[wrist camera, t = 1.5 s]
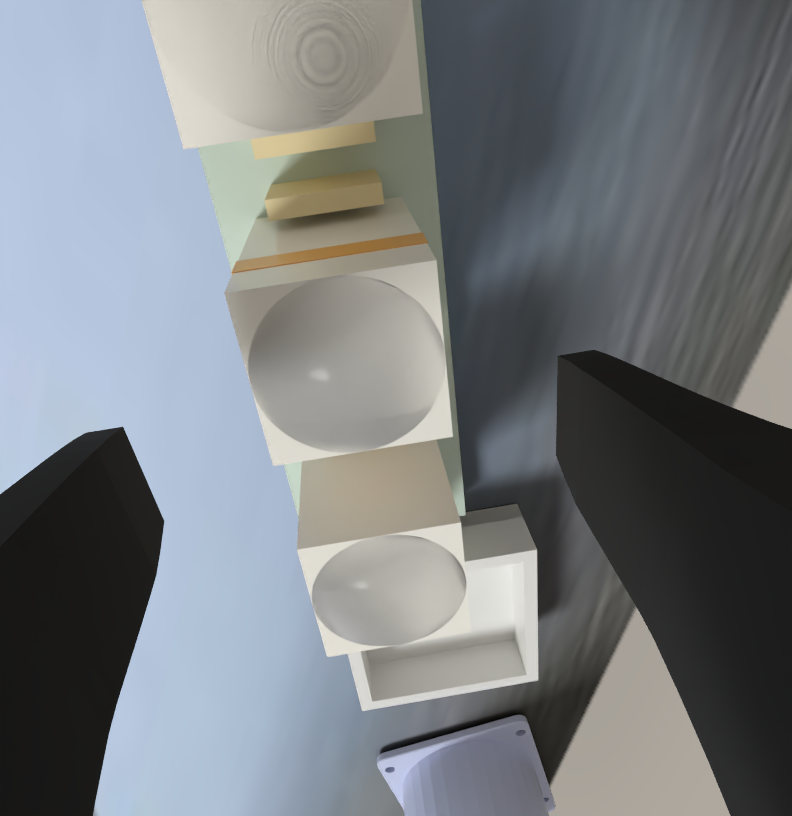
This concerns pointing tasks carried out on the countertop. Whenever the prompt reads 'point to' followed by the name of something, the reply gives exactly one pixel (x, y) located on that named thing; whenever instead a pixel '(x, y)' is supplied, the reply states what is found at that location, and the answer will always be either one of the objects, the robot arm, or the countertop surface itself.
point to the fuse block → (339, 199)
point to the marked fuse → (342, 332)
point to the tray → (489, 618)
